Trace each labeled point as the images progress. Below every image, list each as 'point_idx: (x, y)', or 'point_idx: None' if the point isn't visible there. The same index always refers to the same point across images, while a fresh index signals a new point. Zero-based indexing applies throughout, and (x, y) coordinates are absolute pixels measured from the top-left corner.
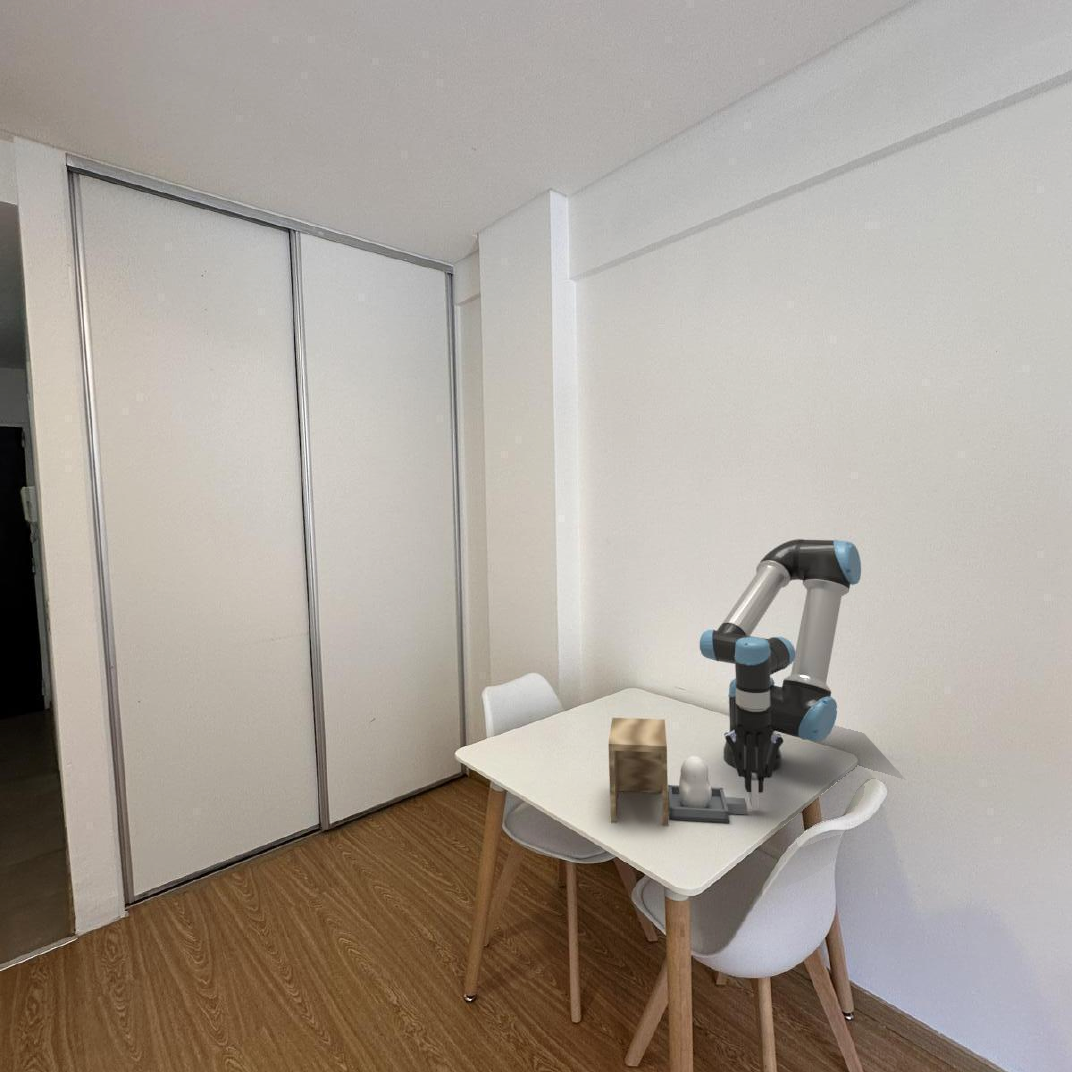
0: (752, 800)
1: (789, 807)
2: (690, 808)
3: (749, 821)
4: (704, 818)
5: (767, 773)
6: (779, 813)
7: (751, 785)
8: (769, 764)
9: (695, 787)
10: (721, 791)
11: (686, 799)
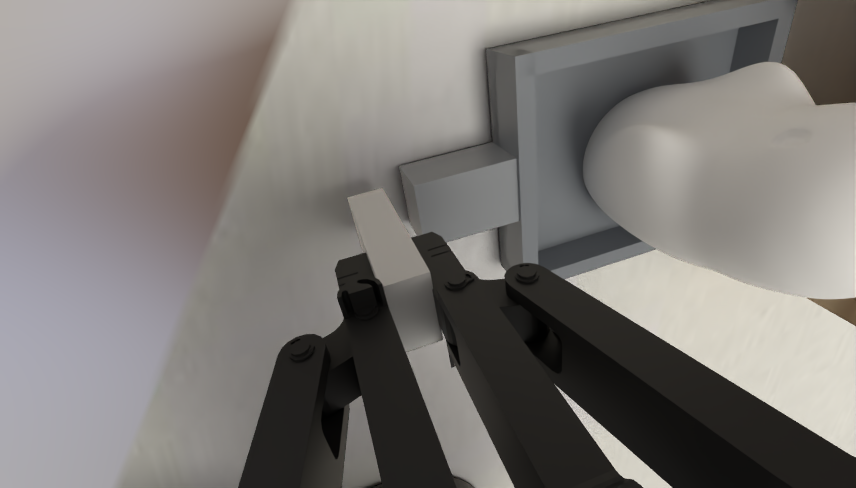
0: (388, 206)
1: (202, 315)
2: (704, 26)
3: (383, 109)
4: (609, 24)
5: (314, 360)
6: (241, 243)
7: (418, 255)
8: (300, 441)
9: (754, 106)
10: (532, 259)
11: (736, 70)
